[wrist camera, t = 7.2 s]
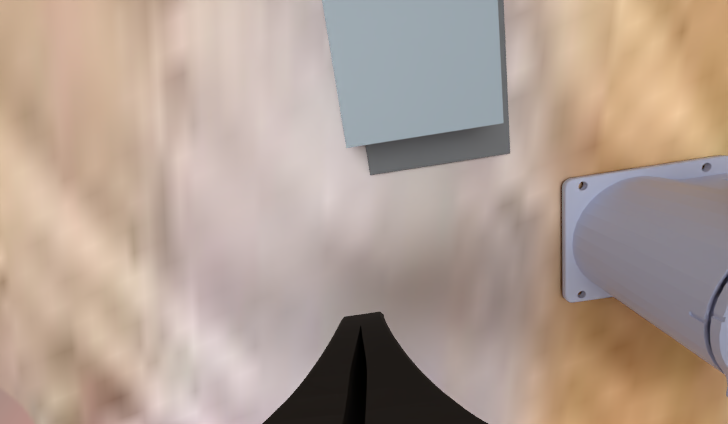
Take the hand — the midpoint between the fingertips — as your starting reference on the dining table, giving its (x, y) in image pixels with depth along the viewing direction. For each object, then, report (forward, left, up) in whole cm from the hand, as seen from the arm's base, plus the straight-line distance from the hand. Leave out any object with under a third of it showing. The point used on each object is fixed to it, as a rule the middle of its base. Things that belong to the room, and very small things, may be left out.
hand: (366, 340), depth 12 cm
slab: (0, -11, -8) cm, 13 cm away
